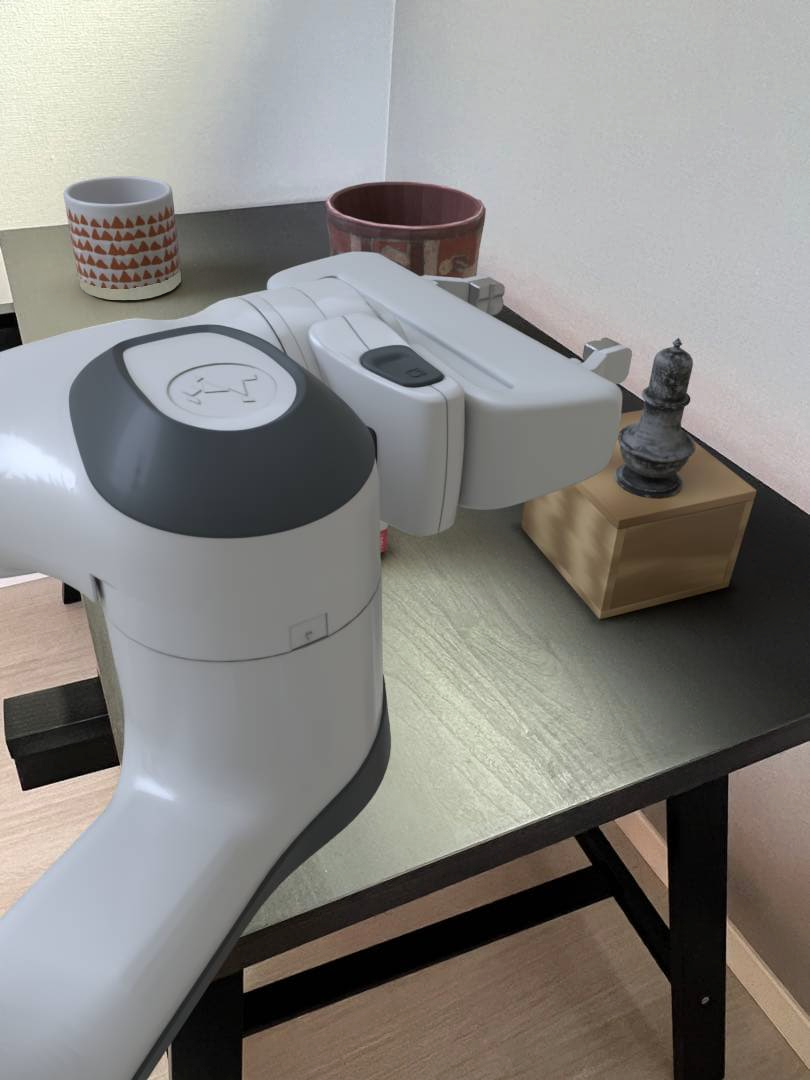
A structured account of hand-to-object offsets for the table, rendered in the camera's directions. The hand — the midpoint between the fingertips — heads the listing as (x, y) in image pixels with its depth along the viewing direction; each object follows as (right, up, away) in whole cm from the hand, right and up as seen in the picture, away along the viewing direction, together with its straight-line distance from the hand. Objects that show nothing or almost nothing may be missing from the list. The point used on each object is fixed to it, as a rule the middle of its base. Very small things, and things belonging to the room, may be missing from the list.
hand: (553, 323), depth 48 cm
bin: (+11, -12, +35) cm, 39 cm away
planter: (-45, +24, +83) cm, 97 cm away
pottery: (-8, +12, +67) cm, 69 cm away
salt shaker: (+12, -6, +27) cm, 30 cm away
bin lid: (+11, -5, +30) cm, 32 cm away
